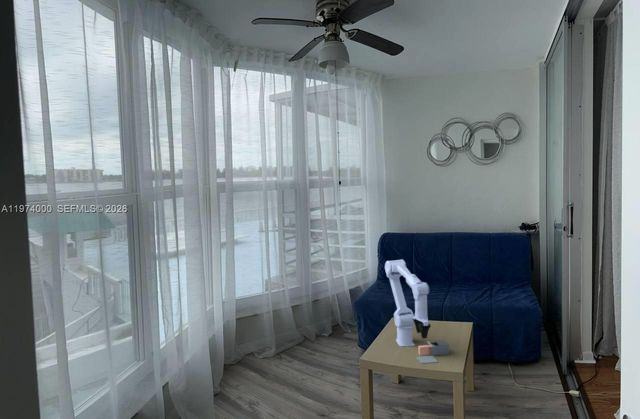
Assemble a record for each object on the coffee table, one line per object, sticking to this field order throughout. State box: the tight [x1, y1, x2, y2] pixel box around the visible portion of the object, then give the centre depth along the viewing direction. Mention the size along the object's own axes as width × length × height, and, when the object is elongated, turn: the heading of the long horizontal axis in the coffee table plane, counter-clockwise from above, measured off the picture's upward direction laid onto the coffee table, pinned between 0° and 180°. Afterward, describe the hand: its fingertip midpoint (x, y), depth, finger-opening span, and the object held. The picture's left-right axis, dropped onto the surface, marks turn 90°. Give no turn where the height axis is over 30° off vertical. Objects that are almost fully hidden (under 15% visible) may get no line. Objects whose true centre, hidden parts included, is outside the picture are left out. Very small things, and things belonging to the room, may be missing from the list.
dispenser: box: [426, 339, 450, 357], centre depth 209 cm, size 6×9×5 cm, turn 95°
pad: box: [416, 355, 439, 365], centre depth 202 cm, size 7×8×1 cm
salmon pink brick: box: [418, 344, 435, 356], centre depth 209 cm, size 2×8×4 cm, turn 95°
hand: (421, 335), depth 208 cm, fingers open, 7 cm apart
